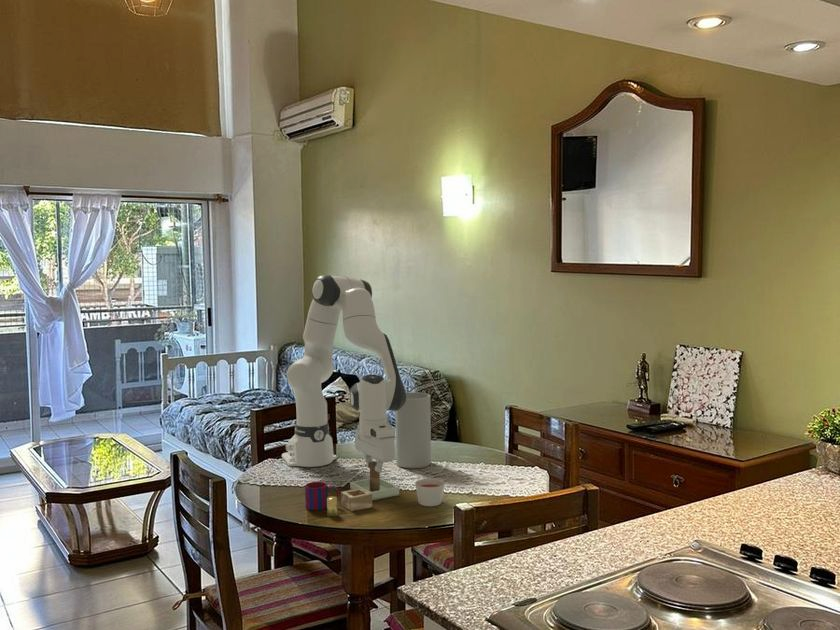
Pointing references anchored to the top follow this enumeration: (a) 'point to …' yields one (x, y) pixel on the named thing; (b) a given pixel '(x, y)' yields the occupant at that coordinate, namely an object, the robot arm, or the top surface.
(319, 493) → the mug
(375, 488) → the dowel
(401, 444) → the cylinder vase
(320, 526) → the top surface
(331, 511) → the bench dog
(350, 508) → the socket block
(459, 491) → the top surface
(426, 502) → the candle
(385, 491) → the tray
